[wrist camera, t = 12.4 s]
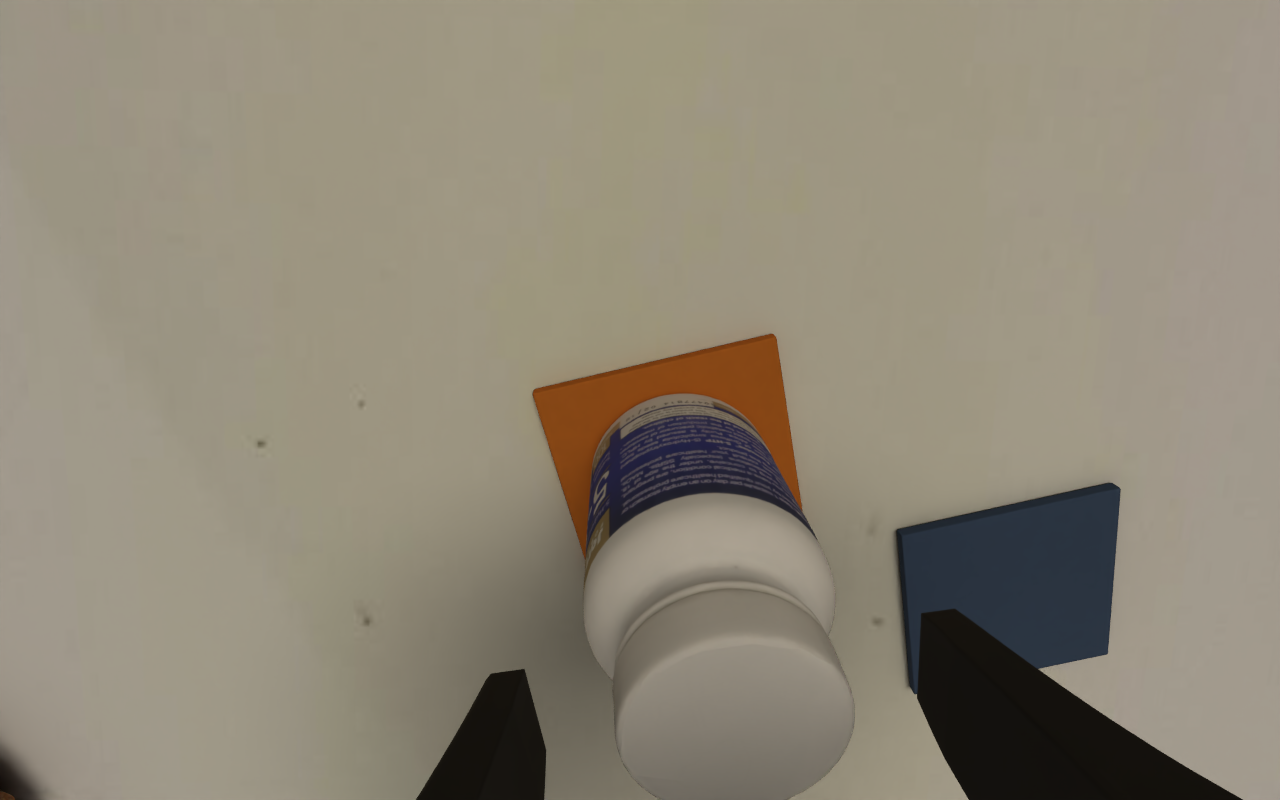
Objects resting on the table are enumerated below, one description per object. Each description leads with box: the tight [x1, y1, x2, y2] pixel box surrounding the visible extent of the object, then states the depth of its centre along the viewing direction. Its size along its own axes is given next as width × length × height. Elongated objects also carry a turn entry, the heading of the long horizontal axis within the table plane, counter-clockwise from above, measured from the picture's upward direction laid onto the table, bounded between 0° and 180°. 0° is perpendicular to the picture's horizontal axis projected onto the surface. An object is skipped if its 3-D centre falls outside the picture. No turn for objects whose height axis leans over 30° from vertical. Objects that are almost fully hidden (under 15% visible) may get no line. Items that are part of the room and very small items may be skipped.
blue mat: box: [897, 483, 1121, 694], centre depth 21 cm, size 7×7×1 cm
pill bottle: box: [583, 393, 855, 800], centre depth 14 cm, size 5×5×9 cm
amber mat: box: [533, 334, 802, 559], centre depth 18 cm, size 7×7×1 cm
